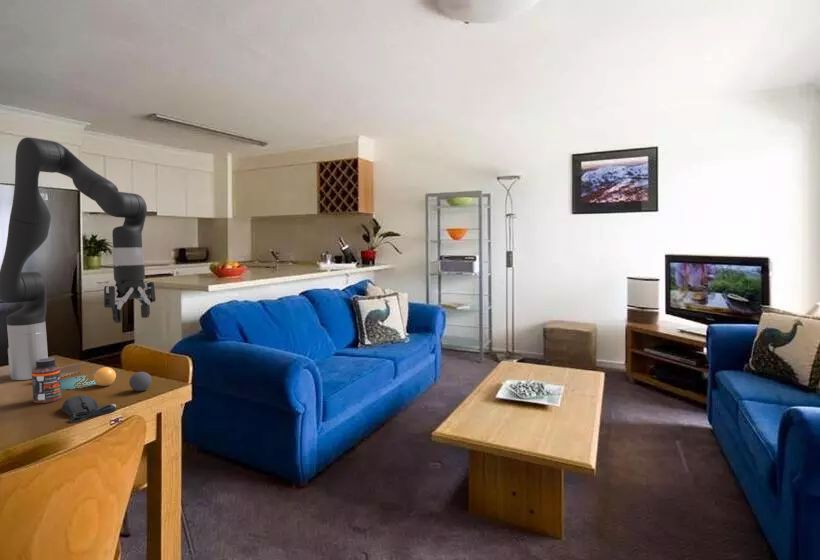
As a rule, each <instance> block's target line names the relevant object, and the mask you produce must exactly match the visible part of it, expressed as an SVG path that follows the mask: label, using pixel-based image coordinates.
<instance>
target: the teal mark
mask: <svg viewBox="0 0 820 560" xmlns="http://www.w3.org/2000/svg"><path fill="white" fill-rule="evenodd" d="M85 375H86V376H87V375H88V374H83V375H77V376H73V377H68V378H65V379H62V380H61V391H62V390H63V391H65V390H66V389H70V390H76V389H75V388H76V387H75V386H78V384H81V383H80V382H82V381H84V380H85V377H86V376H85ZM75 377H77V379H76V378H75ZM80 377H82V378H83V379H82V380H81V378H80ZM80 380H81V381H80ZM87 380H88V379H87ZM87 380H86V381H87ZM78 381H80V382H79V383H77V385H75V386H74V384H75V383H76V382H78ZM86 381H85V382H84V383H86V384H84V383H82V384H83V386H84V385H88V386H90V387H93V386H92V385H94V386H97V385H96V383H95V381H94V380H93V381H90V382H91V383H90V382H86ZM93 382H94V383H93ZM88 383H89V384H88ZM91 384H92V385H91ZM80 386H81V385H79V386H78V387H77V388H79V387H80ZM83 386H82V387H83ZM82 387H80V388H79V389H83V388H82ZM85 387H86V386H85ZM86 388H87V387H86ZM66 391H67V390H66Z"/></svg>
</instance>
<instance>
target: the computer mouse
mask: <svg viewBox="0 0 820 560" xmlns="http://www.w3.org/2000/svg"><path fill="white" fill-rule="evenodd" d="M116 410H117V405H116V404H115V403H112V404H106V405H100V406H99V405H98V402H97V401H96V400H95V399H94V398H93V397H91V396H89V395H86V394H83V395H81V394H80V395H75V396H72V397H69V398H67V399H66V400H65V401H64V402H63V404H62V407H61V412H62V413H64V414H66V415H68V417H69V419H68V422H69V423H70V424H76V423H80V422H82V421H85V420H88V419H90V418H95V417H98V416H102V415H109V414H112V413H114V412H116Z"/></svg>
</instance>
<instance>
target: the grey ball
mask: <svg viewBox="0 0 820 560" xmlns="http://www.w3.org/2000/svg"><path fill="white" fill-rule="evenodd" d="M152 379H153V378H152V377H151V375H150V374H149V372H145V371H137V372H135V373H134V374H133V375H132V376H131V377H130V378H129V381H128V383H129V386H130V388H131V389H132V390H134V391H135V392H143V391H145V390H147V389H148V388H149V387H150V386H151V384H152V382H153V381H152Z"/></svg>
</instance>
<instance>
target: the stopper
mask: <svg viewBox="0 0 820 560" xmlns="http://www.w3.org/2000/svg"><path fill="white" fill-rule="evenodd" d="M59 368H60V379H61V377H62V378H64V376H66V377H69V376H72V375H71V374H73V375H75V374H74V373H76V374H78V373H77V372H80V373H81V363H78V362H75V363H72V364H68V365H67V364H66V365H64V366H59ZM68 375H69V376H68Z"/></svg>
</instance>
